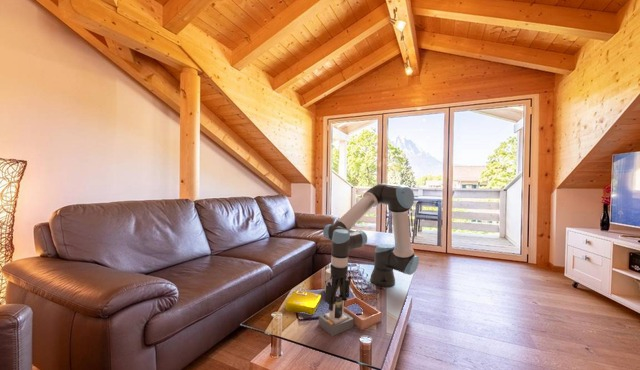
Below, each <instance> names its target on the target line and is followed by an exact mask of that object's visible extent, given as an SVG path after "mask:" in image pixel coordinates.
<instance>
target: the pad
mask: <svg viewBox="0 0 640 370" xmlns="http://www.w3.org/2000/svg"><path fill="white" fill-rule="evenodd" d="M326 313H327V314H325V313H324V314H325V318H326V319H327V320H330V321H331V322H332V323H333V324H334V325H335V324H338V323H340V322H343V321H345V320H348V317H347V316H346V315H344V314H343V315H341V317H340V318H332V317H331V316H329V314H330V311H329V313H328V312H326Z"/></svg>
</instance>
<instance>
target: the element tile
mask: <svg viewBox="0 0 640 370" xmlns="http://www.w3.org/2000/svg"><path fill="white" fill-rule="evenodd" d="M320 302H321V303H322V294H320V293H316V292H311V291H306V290H300V289H295V290H293V292H292V294H291V295H290V296H289V297H288V298H287V299H286V301H285V311H287V312H291V313H292V312H293V313H298V312H305V313H308V314H313V313H314V312H315V311H316V309H317V307H318V305H319V304H320ZM320 305H321V304H320ZM320 305H319V306H320ZM318 308H319V307H318ZM317 310H318V309H317ZM316 312H317V311H316ZM316 312H315V313H316ZM298 314H299V313H298Z"/></svg>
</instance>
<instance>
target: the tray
mask: <svg viewBox="0 0 640 370" xmlns="http://www.w3.org/2000/svg"><path fill="white" fill-rule="evenodd" d="M355 303H356V304H358V305H359V306H360V307H361V308H362V309H363V314H362V315H360V316H357V315H356V314H354V313H353V312H351V311H350V310H348V309H347V308H346V307H347V306H349V305H352V304H355ZM344 312H345V313H346V314H348V315H349V316H351V317H352V318H353V319H354V322H353V325H354V324H355V327H357V328H358V327H359V329H360V330H361V331H362V330H363V331H364V330H365V329H368V328H370V327H372V326H374V325H376V324H378V323H381V321H382V320H381V319H382V312H381V311H379V310H378V309H376V308H375V307H374V306H372V305H370V304H368V303H367V302H365V301H363V300H362V299H360V298H359V297H357V296H354V297H352V298H347V301H345V306H344Z"/></svg>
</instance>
